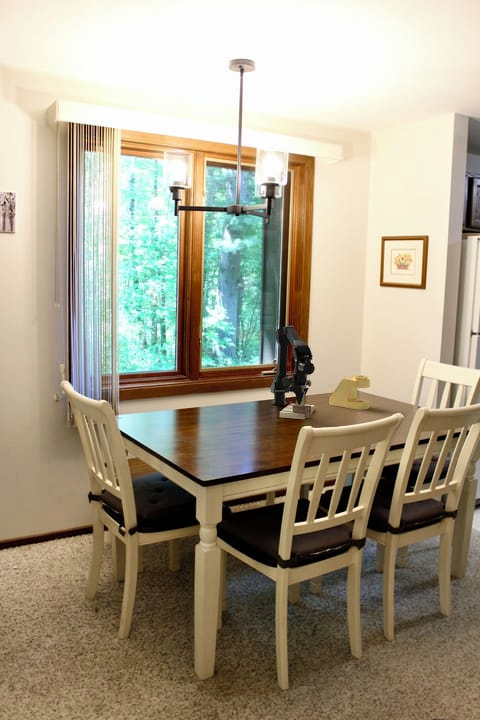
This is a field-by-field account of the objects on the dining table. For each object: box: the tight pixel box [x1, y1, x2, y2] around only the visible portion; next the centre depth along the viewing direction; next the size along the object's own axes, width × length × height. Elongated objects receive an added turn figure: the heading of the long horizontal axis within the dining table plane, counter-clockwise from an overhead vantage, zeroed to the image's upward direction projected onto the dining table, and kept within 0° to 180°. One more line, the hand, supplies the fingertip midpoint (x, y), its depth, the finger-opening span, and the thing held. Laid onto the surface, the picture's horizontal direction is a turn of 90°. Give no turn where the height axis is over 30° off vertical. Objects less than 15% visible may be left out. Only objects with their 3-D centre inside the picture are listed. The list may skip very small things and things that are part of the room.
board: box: [279, 403, 315, 420], centre depth 321 cm, size 20×12×3 cm, turn 160°
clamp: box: [328, 374, 371, 411], centre depth 338 cm, size 20×9×16 cm, turn 48°
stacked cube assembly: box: [293, 396, 312, 419], centre depth 313 cm, size 5×8×10 cm, turn 70°
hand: (300, 403), depth 313 cm, fingers closed on stacked cube assembly, 3 cm apart
